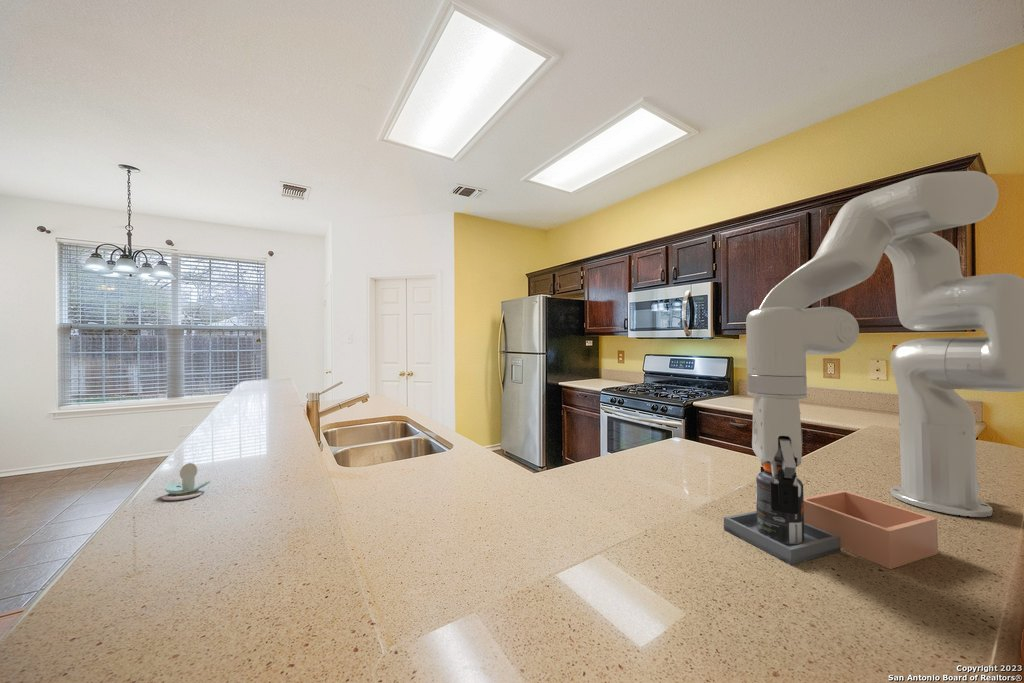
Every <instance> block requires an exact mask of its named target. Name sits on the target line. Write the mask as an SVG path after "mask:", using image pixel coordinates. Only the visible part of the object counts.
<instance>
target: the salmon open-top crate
mask: <svg viewBox="0 0 1024 683" xmlns="http://www.w3.org/2000/svg"><path fill="white" fill-rule="evenodd" d="M804 523H806V524H809V525H811V526H814V527H816V528H819V529H821V530H823V531H826V532H828V533H831V534H833V535H836V536H838V537H840V545H841V549H842V550H845V551H847V552H848V553H851V554H854V555H856V556H859V557H861V558H863V559H866V560H868V561H870V562H872V563H875V564H877V565H879V566H882V567H883V568H886V569H889V570H893V569H895V568H898V567H902V566H904V565H908V564H912V563H915V562H917V561H920V560H922V559H923V560H924V559H926V558H929V557H933V556H936V555H939V541H938V540H939V537H938V532H939V531H938V518H936V517H933V516H930V515H927V514H925V513H920V512H917V511H913V510H911V509H906V508H904V507H900V506H898V505H894V504H890V503H887V502H884V501H880V500H877V499H873V498H870V497H868V496H863V495H860V494H857V493H854V492H851V491H848V490H844V489H841V490H836V491H832V492H826V493H821V494H815V495H810V496H806V497H805V496H804Z"/></svg>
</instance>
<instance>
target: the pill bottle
mask: <svg viewBox="0 0 1024 683" xmlns="http://www.w3.org/2000/svg"><path fill="white" fill-rule="evenodd" d="M775 461H778V462H782V460H776V459H775ZM762 467H763V469H764V472H761V471H760V472H759V473H757V475H756V478H755V480H756V482H755V484H756V486H755V489H756V490H755V497H756V498H755V500H756V501H755V504H756V511H757V530H758V531H759V532H760V533H761V534H763V535H765V536H767V537H769V538H771V539H773V540H776V541H778V542H781V543H785V544H800V543H802V542H803V541H804V497H805V496H804V495H805V494H804V484H803V482H802V481H801V479H800V478H798V477H797V482H798V507H799V513H798V514H791V513H784V512H778V511H773V510H772V508H771V497H770V482H773V479H772V470H771V462H769V461H767V462H766V463H763V466H762ZM779 469H782V468H779V467H777V472H778V471H779Z"/></svg>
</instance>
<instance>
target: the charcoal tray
mask: <svg viewBox="0 0 1024 683" xmlns="http://www.w3.org/2000/svg"><path fill="white" fill-rule="evenodd" d="M723 530H724V531H726V532H728V533H729V532H730V533H729V534H732V535H733V536H735V537H737V538H738V539H741V540H743V541H745V542H747V543H749V544H751V545H752V546H754V547H756V548H758V549H760V550H762V551H763V552H766V553H767V554H769V555H771V556H773V557H775V558H777V559H779V560H780V561H782V562H785V563H786V564H788V565H791V566H792V565H797V564H800V563H804V562H808V561H810V560H814V559H818V558H822V557H825V556H830V555H832V554H837V553H840V552H841V551H842V550H841V549H842V548H841V545H840V537H838V536H836V535H833V534H831V533H828V532H826V531H823V530H821V529H819V528H816V527H814V526H811V525H809V524H806V523H804V541H803V542H802V543H800V544H785V543H781V542H778V541H776V540H773V539H771V538H769V537H767V536H765V535H763V534H761V533H760V532H759V531H758V530H757V510H754V511H749V512H743V513H739V514H733V515H728V516H724V517H723Z"/></svg>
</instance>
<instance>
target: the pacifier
mask: <svg viewBox="0 0 1024 683" xmlns="http://www.w3.org/2000/svg"><path fill="white" fill-rule="evenodd" d="M198 471H199V468H198V465H197V464H196V463H193V462H188V463H185V464H184V465H182V466H181V469H180V470H179V476H180V478H181V479H182V481H181V483H180V482H179V483H178V482H169V483H167V484H166V485H165V486H164V491H166V494H164V495H163V496H161V499H162V500H163V501H181V500H188V499H193V498H195V497H198V496H200V495H202V493H203V492H202V491H201V490H200V489H202V488H204V487H206V486H207V485H209V484H210V483H211V480H208V481H207V482H203V483H201V484H198V485H195V483H196V475H197V474H198Z"/></svg>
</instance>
